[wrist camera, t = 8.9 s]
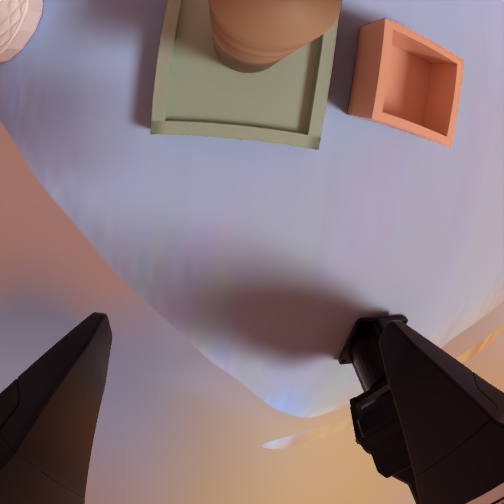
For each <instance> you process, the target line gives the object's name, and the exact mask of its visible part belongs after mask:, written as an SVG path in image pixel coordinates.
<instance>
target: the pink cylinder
mask: <svg viewBox="0 0 504 504" xmlns="http://www.w3.org/2000/svg"><path fill="white" fill-rule="evenodd" d="M42 9H43V0H0V63H3V62H6V61H9V60H11V59H12V58H13V57H14V56H15V55H16V54H17V53H19V52H20V51H21V50H22V49H23V48H24V47H25V45H26V44H27V42H28V41H29V39H30V38H31V37H32V35H33V34H34V32H35V30H36V28H37V25H38V23H39V20H40V18H41V16H42Z"/></svg>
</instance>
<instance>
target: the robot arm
mask: <svg viewBox="0 0 504 504" xmlns="http://www.w3.org/2000/svg"><path fill="white" fill-rule="evenodd" d="M407 322H408V319H407V318H406V317H405V316H402V317H386V318H366V319H359V320H358V321H357V322H356V324H355V326H354V328H353V330H352V332H351V335H350V337H349V339H348V341H347V343H346V345H345V347H344V349H343V351H342V353H341V355H340V357H339V359H338V361H339V363H340V364H350V363H352V364H353V366H354V369H355V371H356V374H357V376H358V378H359V381H360V383H361V386H362V388H363V390H364V393H362V394H360V395H359V396H357V397H354V398H352V399H350V405H351V407H350V409H351V414H352V420H353V425H354V431H355V437H356V442H357V444H360V445H361V446H362V447H363V449H364V450H365V451H366V452H367V453H369V454H371V455H372V457H373V460H374V463H375V465H376V468H377V471H378V472H379V473H380V474H381V475H383V476H384V477H386V478H389V477H391V476H392V477H394V478H396V479H398V480H400V481H402V482H404V483H406V484H408V486H409V488H410V490H411V492H412V495H413V497H414V500H415V502H416V504H504V393H503V392H502V391H500V390H499V389H497V388H496V387H494V386H493V385H491V384H489V383H488V382H486V381H485V380H484V379H482V378H481V377H479V376H478V375H477V374H475V373H474V372H472V371H471V370H470V369H468V368H467V367H465V366H464V365H463V364H461V363H460V362H459V361H457V360H456V359H454V358H453V357H452V356H450V355H449V354H447V353H446V352H445V351H443V350H442V349H440V348H439V347H438V346H436V345H435V344H433V343H432V342H430V341H429V340H428V339H426V338H425V337H423V336H422V335H420V334H419V333H418V332H416V331H415V330H413V329H412V328H410V327H409V326H407V325H406V324H407ZM111 343H112V332H111V328H110V324H109V320H108V317H107V315H106V314H104V313H97V312H94V313H92V314H91V315H90V316H88V317H87V318H86V319H85V320H83V321H82V322H81V323H80V324H79V325H77V326H76V327H75V328H74V329H73V330H71V331H70V332H69V333H68V334H67V335H66V336H64V337H63V338H62V339H61V340H60V341H58V342H57V343H56V344H55V345H54V346H53V347H52V348H50V349H49V350H48V351H47V352H46V353H45V354H44V355H42V356H41V357H40V358H39V359H38V360H37V361H36V362H34V363H33V364H32V365H31V366H30V367H29V368H28V369H27V370H26V371H24V372H23V373H22V374H21V375H20V376H19V377H18V379H16V380H14V381H13V382H12V383H11V384H10V385H9V386H8V387H7V388H6V389H5V390H4V391H2V392H1V393H0V504H84V503H85V499H84V498H85V491H86V483H87V476H88V468H89V462H90V456H91V449H92V444H93V438H94V433H95V428H96V423H97V418H98V413H99V409H100V404H101V400H102V396H103V392H104V387H105V383H106V376H107V369H108V362H109V355H110V349H111Z"/></svg>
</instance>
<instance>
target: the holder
mask: <svg viewBox="0 0 504 504" xmlns="http://www.w3.org/2000/svg"><path fill="white" fill-rule="evenodd" d="M463 62H464V60H462V59H461V58H459V57H458V56H456V55H455V54H453V53H452V52H450V51H448V50H447V49H445V48H443V47H442V46H440V45H438V44H437V43H435V42H433V41H431V40H430V39H428V38H426V37H424V36H422V35H420V34H418V33H417V32H415V31H413V30H411V29H409V28H407V27H404V26H402V25H400V24H398V23H396V22H394V21H392V20H389V19H387V18H383V19H380V20H378V21H375V22H372V23H370V24H367V25H365V26H362V27H360V29H359V38H358V46H357V54H356V61H355V68H354V75H353V82H352V88H351V95H350V101H349V107H348V112H347V114H348V115H352V116H355V117H359V118H363V119H366V120H370V121H373V122H377V123H380V124H383V125H387V126H390V127H393V128H396V129H399V130H402V131H405V132H408V133H411V134H413V135H416V136H419V137H422V138H425V139H428V140H431V141H434V142H437V143H440V144H443V145H445V146H448V147H451V144H452V139H453V134H454V129H455V124H456V118H457V112H458V106H459V99H460V92H461V83H462V74H463Z"/></svg>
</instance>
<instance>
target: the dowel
mask: <svg viewBox="0 0 504 504" xmlns="http://www.w3.org/2000/svg"><path fill="white" fill-rule="evenodd" d="M208 4H209V11H210V19H211V26H212V33H213V41H214V48H215V52H216V54H217V56H218V58H219V59H220V60H221V62H222V63H223V64H224V65H226V66H227V67H229V68H230V69H232V70H235V71H238V72H242V73H257V72H261V71H264V70H266V69H268V68H270V67H271V66H273V65H274V64H276V63H277V62H279V61H280V60H282V59H283V58H285V57H286V56H288V55H289V54H291V53H293V52H294V51H296V50H298V49H299V48H301V47H302V46H304V45H306V44H307V43H309V42H311V41H313V40H314V39H316V38H318V37H319V36H321V35H323V34H324V33H325V32H327V31H328V30H329V29H330V28H331V27H332V26H333V24H334V23H335V22H336V20H337V18H338V16H339V13H340V10H341V5H342V0H208Z"/></svg>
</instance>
